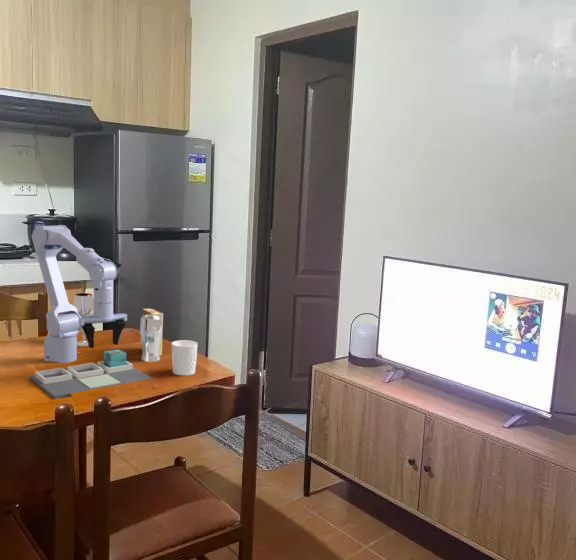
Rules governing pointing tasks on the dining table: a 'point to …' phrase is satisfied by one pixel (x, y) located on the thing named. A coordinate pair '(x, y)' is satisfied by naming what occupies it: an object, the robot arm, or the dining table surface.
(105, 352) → the teal letter cube
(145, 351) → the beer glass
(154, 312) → the candy box
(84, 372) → the organizer board
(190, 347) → the white cup
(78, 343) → the wineglass
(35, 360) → the dining table surface
